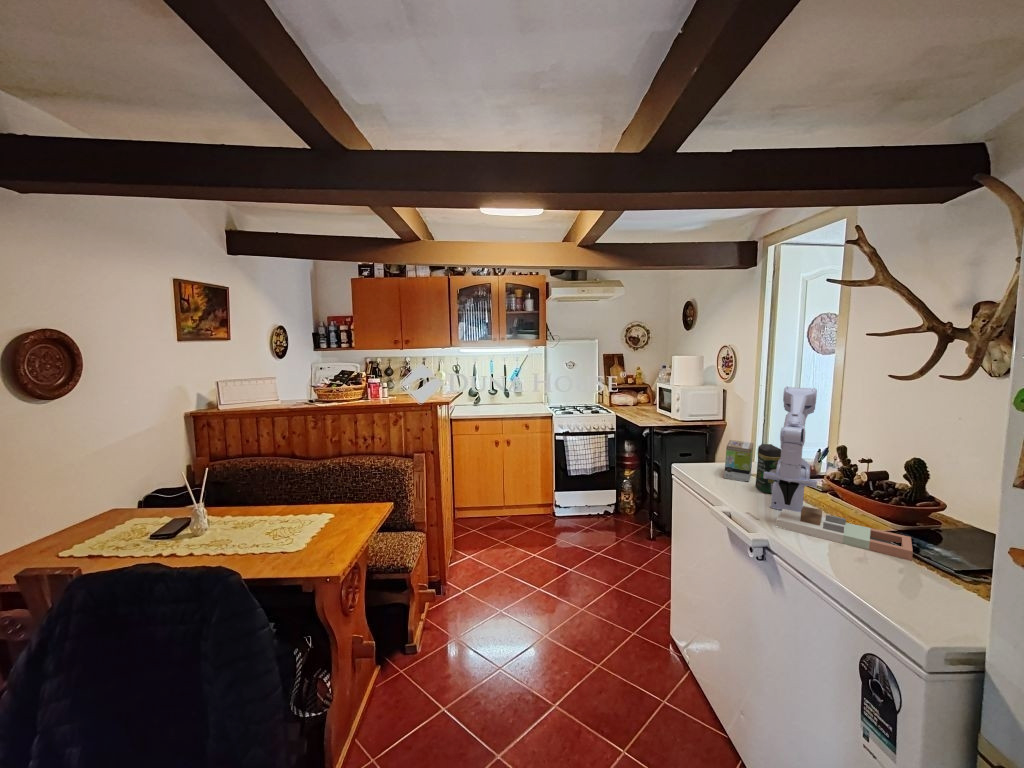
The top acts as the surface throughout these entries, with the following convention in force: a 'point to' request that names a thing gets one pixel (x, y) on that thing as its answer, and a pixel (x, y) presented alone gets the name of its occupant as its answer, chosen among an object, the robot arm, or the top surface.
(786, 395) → the robot arm
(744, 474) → the tea box
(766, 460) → the coffee jar
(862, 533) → the board
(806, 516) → the walnut block
